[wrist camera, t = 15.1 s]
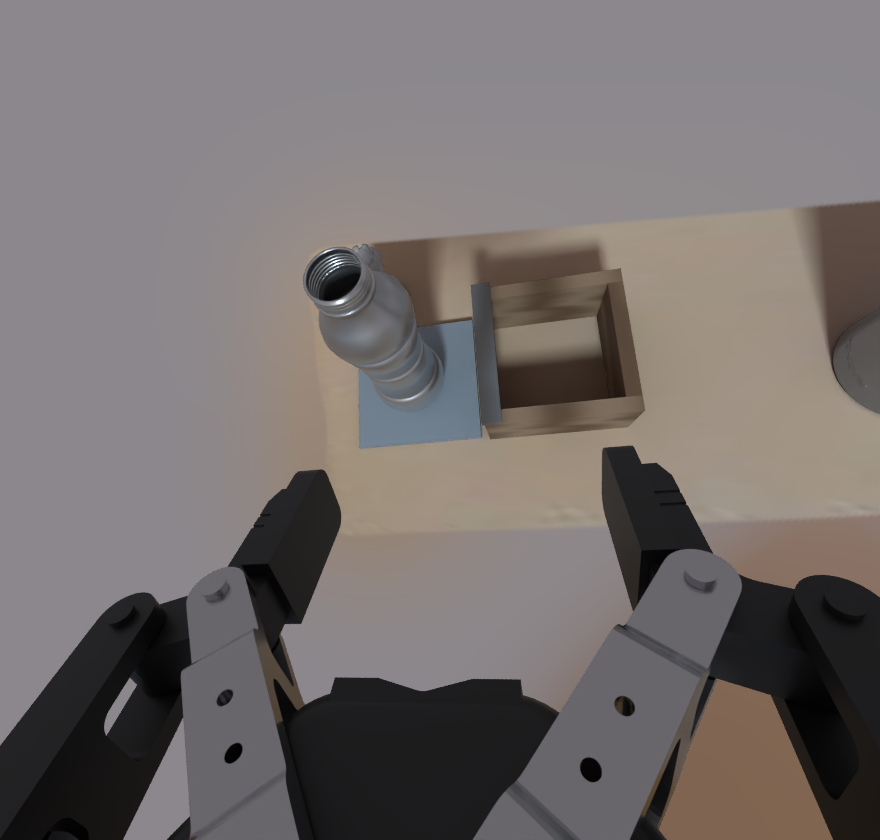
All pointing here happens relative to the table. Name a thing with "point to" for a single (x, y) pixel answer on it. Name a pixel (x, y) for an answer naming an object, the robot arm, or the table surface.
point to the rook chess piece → (371, 258)
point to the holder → (546, 305)
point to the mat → (447, 414)
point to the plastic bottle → (373, 328)
